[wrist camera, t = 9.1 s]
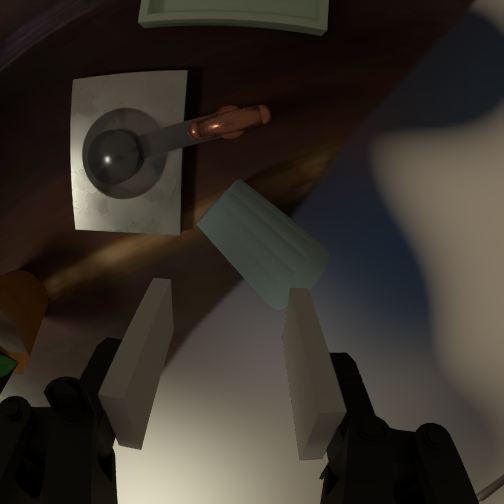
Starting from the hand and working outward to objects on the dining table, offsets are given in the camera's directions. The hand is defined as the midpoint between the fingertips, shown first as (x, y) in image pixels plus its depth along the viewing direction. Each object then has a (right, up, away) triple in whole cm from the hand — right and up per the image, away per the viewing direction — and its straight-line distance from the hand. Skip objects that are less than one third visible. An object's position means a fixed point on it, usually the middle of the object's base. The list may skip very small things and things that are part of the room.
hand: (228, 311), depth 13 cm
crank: (-6, +13, +13) cm, 19 cm away
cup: (-1, +8, +18) cm, 20 cm away
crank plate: (-11, +12, +15) cm, 22 cm away
